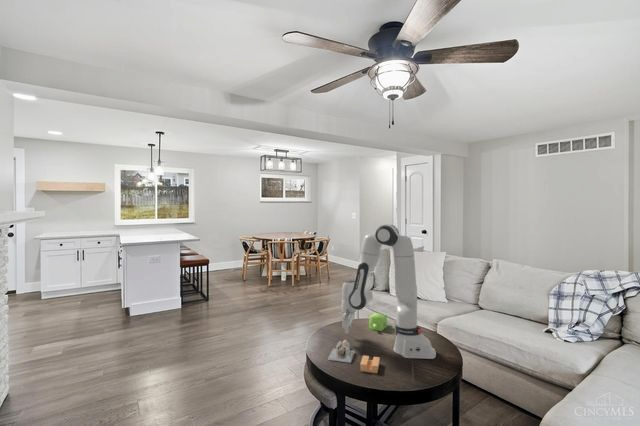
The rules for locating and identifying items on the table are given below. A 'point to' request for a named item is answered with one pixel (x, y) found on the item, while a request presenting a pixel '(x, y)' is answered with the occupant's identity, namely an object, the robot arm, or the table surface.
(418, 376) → the table surface
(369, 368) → the orange grooved block
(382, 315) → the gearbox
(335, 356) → the block
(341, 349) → the axle
